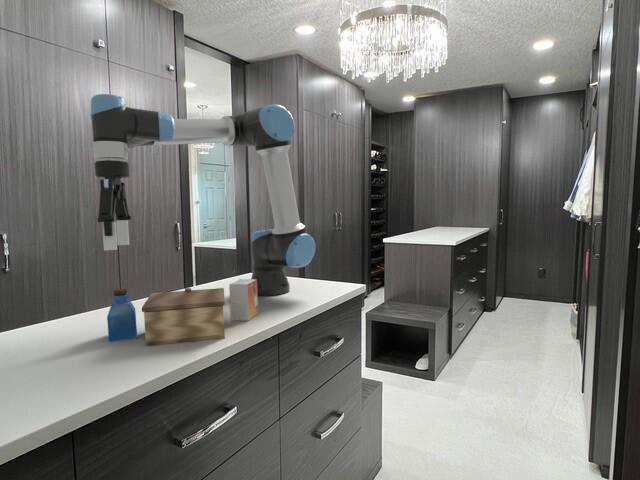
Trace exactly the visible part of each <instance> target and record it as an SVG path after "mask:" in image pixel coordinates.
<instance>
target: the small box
mask: <svg viewBox="0 0 640 480" xmlns="http://www.w3.org/2000/svg"><path fill="white" fill-rule="evenodd" d="M228 286H229V287H228V288H229V305H230V306H229V309H230V320H231V321H242V322H243V321H250V320H252V319H253V318H254V317H255V316H257V315H259V300H258V299H259V298H258V296H259V295H257V279H251V278H248V279H245V278H244V279H243V278H242V279H238V280H236V281H233V282H232V283H229V285H228Z"/></svg>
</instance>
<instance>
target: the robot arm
mask: <svg viewBox="0 0 640 480" xmlns="http://www.w3.org/2000/svg"><path fill="white" fill-rule="evenodd" d="M90 119H91V128H92V140H93V142H92V147H93V148H92V149H93V159H94V160H95V162H94V172H95V173H94V174H95V175H94V176H95V177H97V178H100V180H99V183H100V194H99V207H98V217H97V223H101V225H102V239H103V240H102V241H103V251H117V250H118V246H130V236H129V221H131V220H132V216H130V212H129V207H128V201H127V195H126V194H127V193H126V188H125V187H126V184H125V182H122V181H121V179H126V178H129V177H130V165H129V163H128V162H127V161H128V160H129V153H128V152H130V151H131V148H135V147H148V146H166V145H171V146H172V145H195V144H197V145H198V144H199V145H200V144H223V145H224V146H226V147H228V146H229V147H230V146H237V147H239V146H242V147H255V152H256V153H258V154H259V155H260V156H261V159H262V165H263V170H264V176H265V179H266V181H265V182H266V184H267V185H266V186H267V190H268V195H269V196H268V197H269V201H270V205H271V206H270V207H271V211H272V216H273V221H274V228H273V229H272V228H270V229H264V230H257V231H254V232H252V234H251V241H250V244H251V259H252V273H251V278H250V279H257V295H258V296H263V297H264V296H265V297H267V296H276V295H283V294H287V293H288V292H290V291H291V290H290V289H291V288H290V282H289V280H288V277H287V274H286V271H285V267H288V268H289V267H290V268H293V269H296V268H297V269H298V268H304V267H306V266H308V265H309V264H310V263H311V261H312V260H313V258H314V257H315V253H316V242H315V239H314V237H312V236H311V235H310V234H309V233H307V230H306V225H304V224H303V223H301V221H300V216H299V210H298V203H297V198H296V192H295V187H294V182H293V177H292V171H291V165H290V164H291V163H290V160H289V154H288V152H289V149H291V140H290V139H292V137H293V136H294V133H295V130H296V123H295V120H294V118H293V116H292V114H291V112H290V111H289V110H287V109H286V107H284V106H283V105H280V104H275V103H274V104H267V105H264V106H261V107H258V108H255V109H253V110H248V111H245V112H242V113H240V114H235V115H224V116H222V117H221V118H218V119H216V118H173V116H172V115H171V114H170V113H167V112H161V111H159V110H158V111H156V110H155V111H154V110H147V109H140V108H133V107H128V106H127V104H126V101H125V99H124V98H123V97H122V96H118V95H115V94H108V93H99V94H95V95H94V96H92V97H91V98H90ZM102 178H103V179H102ZM115 215H116V216H115ZM115 217H116V221H115Z"/></svg>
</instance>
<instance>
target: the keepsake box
mask: <svg viewBox="0 0 640 480" xmlns="http://www.w3.org/2000/svg"><path fill="white" fill-rule="evenodd" d="M224 315H225V314H224V305H220V306H208V307H196V308H184V309H172V310H160V311H148V312H143V316H144V317H143V318H144V320H143V321H144V333H145V346H146V347H151V346H160V345H169V344H170V345H171V344H181V343H189V342H190V343H192V342H198V341H209V340H210V341H211V340H218V339H219V340H220V339H221V340H222V339H225V338H226V337H225V336H226V335H225V316H224Z"/></svg>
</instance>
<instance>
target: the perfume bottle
mask: <svg viewBox="0 0 640 480" xmlns="http://www.w3.org/2000/svg"><path fill="white" fill-rule="evenodd" d="M112 292H113V295H112V300H113V302H112V303H111V305H110V308H109V310H108V313H107V317H106V319H107V321H106V322H107V331H108V333H107V334H108V342H109V343H111V342H119V341H125V340H132V339H137V338H138V337H137V335H138V328H137V315H136V314H137V312H136V308H135V306H134V304H133V303H132V302H131V300H128V298H129V293H127V292H128V289H127V288H117V289H114V290H113V291H112Z"/></svg>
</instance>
